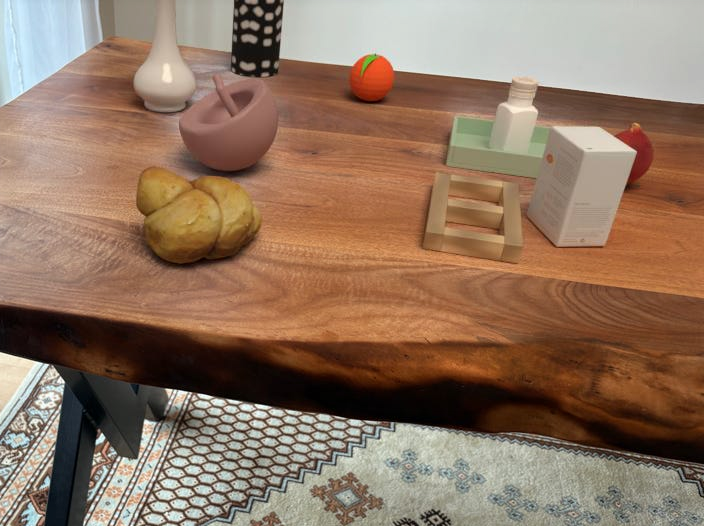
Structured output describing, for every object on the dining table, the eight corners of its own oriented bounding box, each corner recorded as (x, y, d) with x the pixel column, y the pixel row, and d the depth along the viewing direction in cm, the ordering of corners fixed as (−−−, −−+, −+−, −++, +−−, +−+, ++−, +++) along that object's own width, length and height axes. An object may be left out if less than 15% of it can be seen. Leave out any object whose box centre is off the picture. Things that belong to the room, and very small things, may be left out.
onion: (623, 177, 99) (645, 115, 94) (650, 195, 94) (675, 130, 90) (582, 178, 98) (602, 115, 94) (608, 196, 93) (630, 131, 89)
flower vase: (239, 116, 113) (250, -78, 99) (114, 122, 108) (106, -81, 94) (216, 91, 123) (223, -89, 109) (101, 95, 119) (92, -92, 104)
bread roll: (245, 221, 83) (250, 149, 79) (282, 261, 76) (289, 184, 72) (130, 235, 79) (128, 160, 75) (157, 279, 72) (156, 199, 68)
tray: (561, 148, 107) (567, 129, 105) (568, 183, 97) (575, 161, 95) (450, 134, 110) (454, 115, 109) (445, 166, 100) (450, 145, 98)
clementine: (377, 111, 118) (385, 63, 114) (336, 102, 121) (342, 55, 116) (396, 99, 123) (404, 53, 119) (357, 91, 126) (363, 45, 122)
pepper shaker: (511, 146, 105) (530, 75, 100) (527, 157, 102) (548, 84, 96) (485, 148, 104) (503, 76, 99) (501, 158, 101) (520, 84, 96)
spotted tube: (243, 78, 130) (250, -56, 118) (223, 66, 136) (228, -63, 124) (286, 75, 133) (298, -56, 121) (265, 62, 139) (273, -63, 127)
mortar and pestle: (171, 152, 100) (171, 60, 93) (260, 149, 102) (267, 59, 95) (187, 188, 90) (188, 89, 84) (285, 184, 92) (294, 87, 86)
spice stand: (514, 199, 92) (518, 183, 90) (518, 264, 78) (523, 246, 77) (432, 187, 94) (435, 171, 92) (422, 248, 80) (426, 231, 79)
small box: (605, 248, 82) (639, 151, 76) (554, 248, 81) (585, 151, 75) (571, 216, 88) (600, 125, 82) (524, 216, 88) (550, 124, 82)
